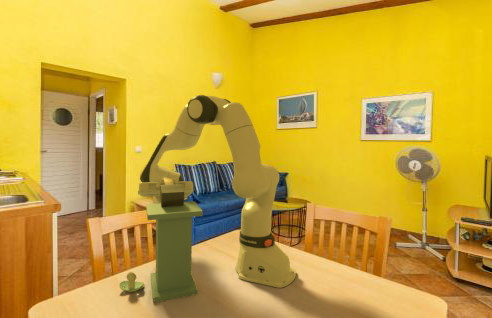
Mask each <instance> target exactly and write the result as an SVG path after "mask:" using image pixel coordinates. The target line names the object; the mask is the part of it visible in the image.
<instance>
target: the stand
mask: <svg viewBox="0 0 492 318" xmlns="http://www.w3.org/2000/svg"><path fill="white" fill-rule="evenodd" d="M145 207H146V209H145V210H146V216H147V217H146V218H147V219H146V220H147V221H155V272H151V273H150V282H151V283H150V284H151V293H152V303H158V302H164V301H169V300H174V299H179V298H180V299H181V298H184V297H186V298H187V297H190V296H195V295H198V287H197V285H196V283H195V280H194V277H193V275H192V253H193V252H192V249H193V248H192V245H193V243H192V241H193V235H192V232H193V218H194V217H203V215H204V214H203V213H204V211H203V209H202V208H201V207H200V206H199V205H198V204H197V202H196V201H194V200H193V201H184V206H170V207H161V203H158V204H153V203H147V204H146V205H145Z"/></svg>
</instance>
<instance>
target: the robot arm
mask: <svg viewBox="0 0 492 318" xmlns="http://www.w3.org/2000/svg"><path fill="white" fill-rule="evenodd" d="M206 125H210V126H219V125H220V126H221V128H222V130H223V133H224V136H225V138H226V142H227V144H228V146H229V150H230V154H231V156H232V162H233V177H232V180H231V186H232V189H233V192H234V193H235V194H236V196H238V197H240V198H243V199H245V202H244V204H243V207H242V209H241V213H240V214H241V217H240V231H239V238H238V239H239V240H238V241H239V252H238V256H237V257H238V258H237V261H236V263H235V264H236V265H235V268H234V269H235V271H236V272H237V274H238V279H240V280H242V281H248V282H252V283H256V284H261V285H265V286H269V287H274V288H277V289H280V288H281V289H282V288H284V287H287V286H288V285H290V284H291V283H292V282H294V280H295V279H296V278H297V270H296V269H295V268H293V267H291V263H290V257H289V256H288V255H287V254H286V252H284V251H283V250H282V248H280V247H279V245H277V244H276V243H275V242H276V240H277V239H278V238H277V237H278V235H275V236H274V235H273V233H272V230H271V229H272V216H273V215H272V213H273V206H274V202H275V196H276V193H277V187H278V184H279V181H280V172H279V171H278V169H277V168H276V167H274V166H273V165H270V164H267V163H262V160H261V152H260V150H261V143H260V139H259V137H258V135H257V132H256V129H255V127H254V125H253V122H252V120H251V118H250V116H249V113H248V112H247V109H246V108H245V107H244V105H243V104H242V103H239V102H236V101H230V100H228V99H226V98H221V97H219V96H214V95H204V94H199V95H195V96H192V97H191V98H190V99H189V100H188V102H187V104H186V105H185V106H184V107H183V109H182V110H181V112H180V114H179V115H178V118H177V120H176V124H175V126H174V128H173V130H172V131H171V132H169V133H165V134H164V135H163V136H162V137H161V139H160V140H159V142H158V144H157V146H156V147H155V149H154V150H153V152H152V154H151V156H150V158H149V160H148V162H147V164H146V165H145V166H144V167H143V168H142V170H141V172H140V175H139V181H140V183H138V191H137V194H138V195H140V197H142V198H144V197H145V198H147V197H152V204H158V203H161V201H160V185H164V180H163V177H172V180H173V184H182V186H183V189H184V201H185V200H187V199H188V196H190V195H191V194H192V193H193V191H194V183H193V181H190V180H189V181H188V180H187V181H186V180H185V181H184V179H183V175H182V174H181V173H180V172H178V171H174V170H172V169H171V170H170V169H168V168H164V167H162V166H159V162H160V161H161V159H162V157H163V156H164V154H165V153H166V152H168V151H186V150H190V149H192V148H193V147H195V146H196V145H197V143H199V140H200V139H201V138H200V137H201V135H202V133H203V132H202V131H203V130H204V127H205V126H206Z"/></svg>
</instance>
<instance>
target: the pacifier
mask: <svg viewBox="0 0 492 318" xmlns="http://www.w3.org/2000/svg"><path fill="white" fill-rule="evenodd" d="M136 279H137V274H136V273H135V272H133V271H129V272H128V273H127V274H126V280H123V281H120V283H119V288H120V290H121V291H125V292H128V293H134V292H137V291H139V290H141V289H143V288H144V287H145V284H144V282H142V281H136Z"/></svg>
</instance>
